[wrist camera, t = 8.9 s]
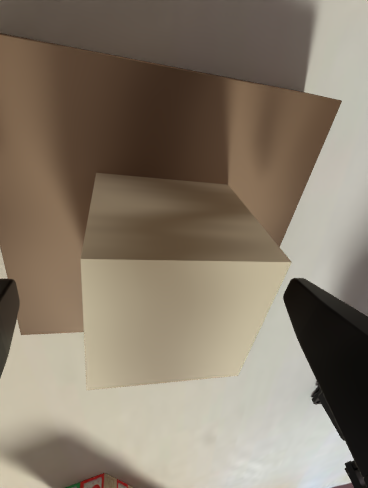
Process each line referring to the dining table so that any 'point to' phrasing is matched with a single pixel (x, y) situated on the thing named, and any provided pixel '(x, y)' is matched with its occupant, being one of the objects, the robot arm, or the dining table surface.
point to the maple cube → (172, 281)
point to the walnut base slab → (131, 154)
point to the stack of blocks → (101, 482)
